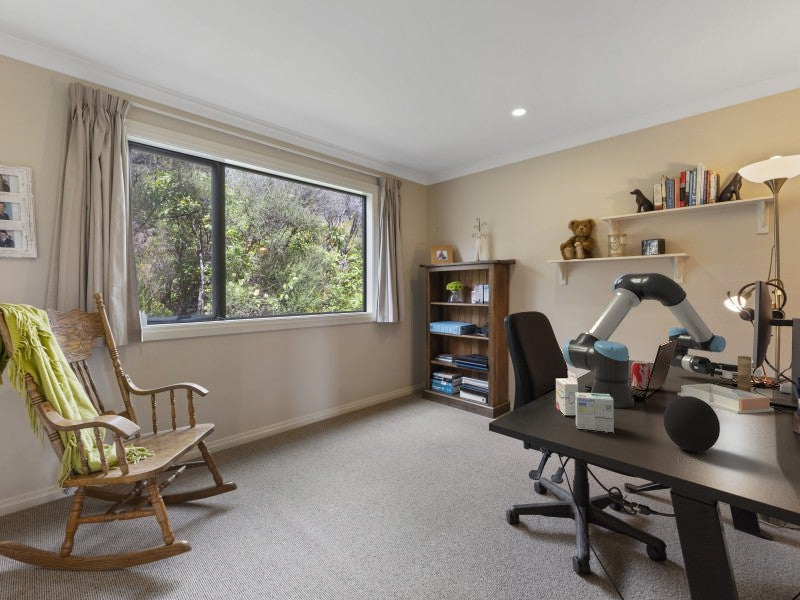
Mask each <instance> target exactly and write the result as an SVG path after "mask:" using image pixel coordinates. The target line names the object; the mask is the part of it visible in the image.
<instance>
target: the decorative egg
mask: <svg viewBox="0 0 800 600" xmlns="http://www.w3.org/2000/svg"><path fill="white" fill-rule="evenodd" d="M663 426H664V430H665V431H666V434H667V435H668V437H669V439H670V440H671V441H672V442H673V444H675V445H676V446H678V447H679V448H680V449H682V450H685V451H687V452H692V453H702V452H705V451H708V450H709V449H711V448H712V447H713V446H715V444H716V443H717V441H718V440H719V438H720V434H721V423H720V420H719V417H718V415H717V413H716V411H715V410H714V408H713V406H711V405H708V404H707V403H706V402H705V401H703V400H701V399H699V398H696V397H692V396H679V397H676V398H674V399H673V400H671V401H670V402H669V403H668V404H667V406H666V408H665V410H664V412H663Z"/></svg>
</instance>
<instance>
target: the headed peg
mask: <svg viewBox="0 0 800 600" xmlns="http://www.w3.org/2000/svg"><path fill="white" fill-rule="evenodd" d="M737 365H738V372H737V388H732V389H733V390H736V389H738V390H742V391H746V392H750V393H754V394H758V392H756V391H754V390H752V375H751V368H752V357H751V356H745V355H738V356H737Z"/></svg>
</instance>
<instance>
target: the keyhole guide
mask: <svg viewBox="0 0 800 600" xmlns="http://www.w3.org/2000/svg"><path fill="white" fill-rule="evenodd" d="M680 389H681V392H677V396H679V397H682V396H692V397H696V398H699V399H701V400H703V401H705V402H706V403H707V404H708V405H710V406H711V407H715V408H718V409H721V410H724V411H727V412H730V413H734V414H736V415H740V414H741V415H742V414H754V413H764V412H766V413H767V412H774V411H775V408H773V407H771V406H770V404H771V403H770V402H771V397H769V396H765V395H762V394H758V393H757V394H754V393H750V392H746V391H742V390H738V388H735V389H736V390H733V389H734V388H729V387H725V386H722V385H717V384H714V383H699V384H697V383H696V384H683V385H681V387H680Z"/></svg>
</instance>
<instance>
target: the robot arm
mask: <svg viewBox="0 0 800 600" xmlns="http://www.w3.org/2000/svg"><path fill="white" fill-rule="evenodd" d="M612 286H613V287H612V296H613V297H612V299H611V300H610V301H609V303H608V304H607V305H606V307H605V308H604V309H603V310H602V311H601V313H600V314H599V315H598V316H597V318H596V319H595V320H594V322H593V323H592V324H591V325H590V326H589V328H587V330H586V332H581V333H580V334H579V335H578V336H577V337H576V338H575V339H569V340H567V341H566V342H565V343H564V346H563V349H562V353H563V354H562V355H563V356H562V357H563V359H564V361H565V362H566V364H567V365H569V366H570V367H574V368H575V369H581V370H586V371H588V372H589V371H590V372H593V373H594V381H593V382H594V383H593V384H592V388H591V391H590V393H596V394H610V396H611V397H612V398H613V405H614V408H618V409H619V408H620V409H622V408H623V409H624V408H631V407H633V406H634V405H635V399H634V396H633V392H632V391H631V387H630V383H629V381H630V380H629V379H630V378H629V376H630V375H629V374H630V373H629V371H630V370H629V367H630V366H629V365H630V364H629V363H630V362H629V361H630V355H629V349H628V347H627V345H626V344H623V343H620V342H618V341H617V342H616V341H610V340H609V339H610V338H611V337H612V335H613V334H614V332H615V331H616V330H617V329H618V328H619V326H620V324H621V323H622V322H623V320H625V319H626V316H627V315H628V314H629V313H630V311H631V310H632V308H637V307H639V306H640V305H641V304H642V302H643V301H644V300H646V301H647V300H648V301H657V302H659V303H660V304H661V305H662V306H664V307H665V308H668V310H669V311H670V312H671V314H673V316H674V317H675V319H677V321H678V322H679V323H680V325H681V326H682V327H671V328H669V330H668V331H669V333H668V343H669V342H670V341H674V340H678V341H677V344H676V347H675V350H674V353H673V357H672V360H671V363H670V366H669V367H672V368H675V369H676V368H677V369H681V370H685V371H689V372H690V373H693V372H694V373H697V374H702V375H707V376H709V375H710V376H709V377H712V378H714V377H715V376H717V377H722V378H725V379H726V378H727V379H730V380H732V379H733V373H738V364H732V363H731V364H730V363H723V362H718V363H717V362H712V361H711V360H710V359H709V358H708V357H705V356H700V355H696V354H689V350H695V351H702V352H710V353H722V352H724V350H726V347H727V346H726V345H727V341H726V338H725V337H724V336H721V335H717V334H716V335H715V334H714V333H713V332H712V331H711V329H710V328H709V327H708V325H707V324H706V322H705V321H704V320H703V318H702V317H701V316H700V314H699V312H698V311H697V310H696V309H695V307H694V306H693V305H692V304H691V302H690V301H689V300H688V297H687V292H686V291H685V290H684V288H683V287H682V286H681V285H680V284H679V283H678V282H676V281H675V280H674V279H672V278H671V277H669V276H666V275H665V274H662V273H659V272H646V273H643V272H642V273H641V272H640V273H625V274H622V275H619V276H617V277H616V278H615V279H614V282H613V284H612ZM753 369H754V368H752V367H751V377H752V376H754V377H757V378H761V377H762V370H761V369H758V368H757V369H756V368H755V369H756V370H755V372H754V374H753Z"/></svg>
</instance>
